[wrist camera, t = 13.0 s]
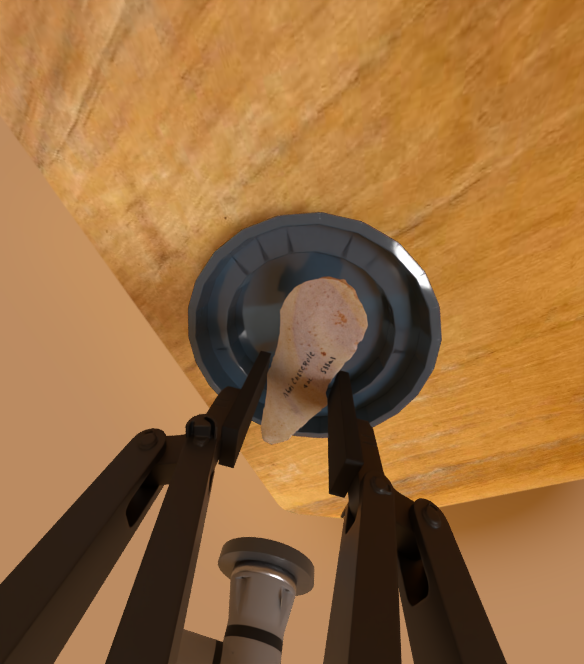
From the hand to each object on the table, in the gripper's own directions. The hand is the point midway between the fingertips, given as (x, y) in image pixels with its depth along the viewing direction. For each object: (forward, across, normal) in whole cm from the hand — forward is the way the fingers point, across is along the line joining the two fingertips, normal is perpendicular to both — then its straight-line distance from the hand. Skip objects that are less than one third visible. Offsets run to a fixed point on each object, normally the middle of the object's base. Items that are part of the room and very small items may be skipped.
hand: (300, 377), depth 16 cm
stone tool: (+1, 0, 0) cm, 1 cm away
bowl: (+8, 0, 0) cm, 8 cm away
